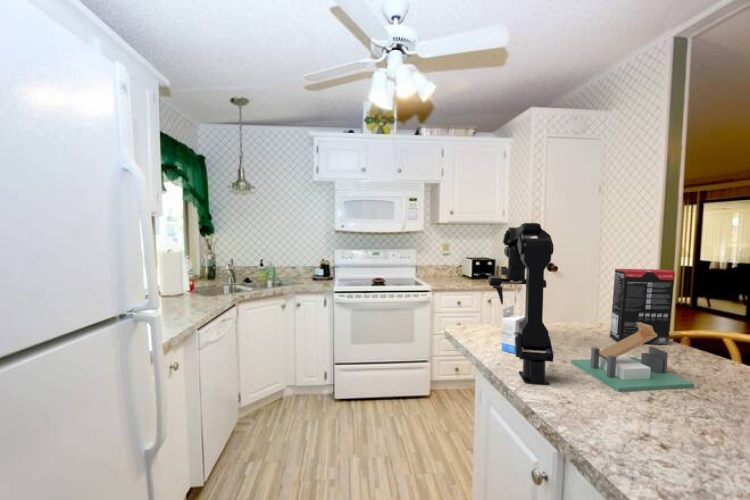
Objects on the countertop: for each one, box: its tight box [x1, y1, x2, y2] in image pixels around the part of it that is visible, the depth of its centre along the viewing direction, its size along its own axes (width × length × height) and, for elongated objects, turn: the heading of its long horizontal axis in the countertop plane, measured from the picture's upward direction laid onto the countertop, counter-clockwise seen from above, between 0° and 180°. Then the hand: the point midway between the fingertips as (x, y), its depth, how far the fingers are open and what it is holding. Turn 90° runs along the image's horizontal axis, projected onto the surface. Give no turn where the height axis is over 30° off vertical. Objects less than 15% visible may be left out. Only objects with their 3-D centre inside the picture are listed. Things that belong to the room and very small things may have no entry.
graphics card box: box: [609, 268, 676, 346], centre depth 122 cm, size 17×7×27 cm, turn 84°
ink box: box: [501, 305, 525, 355], centre depth 116 cm, size 8×5×15 cm, turn 134°
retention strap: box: [598, 322, 657, 360], centre depth 96 cm, size 16×4×4 cm, turn 95°
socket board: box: [570, 346, 695, 392], centre depth 96 cm, size 22×18×7 cm
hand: (515, 304), depth 120 cm, fingers open, 9 cm apart
